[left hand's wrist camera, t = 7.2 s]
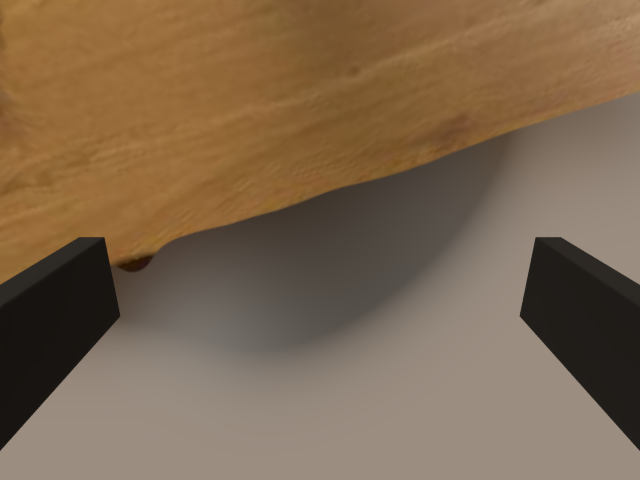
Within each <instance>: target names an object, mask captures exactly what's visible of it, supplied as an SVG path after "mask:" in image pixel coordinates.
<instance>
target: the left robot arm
mask: <svg viewBox="0 0 640 480" xmlns="http://www.w3.org/2000/svg"><path fill="white" fill-rule="evenodd" d="M119 317H120V312H119V307H118V302H117V297H116V292H115V287H114V282H113V278H112V273H111V268H110V263H109V258H108V253H107V248H106V243H105V238H104V237H79V238H77V239H76V240H74V241H72V242H71V243H69V244H67V245H66V246H64V247H62V248H61V249H59V250H57V251H56V252H54V253H52V254H51V255H49V256H47V257H46V258H44V259H42V260H41V261H39V262H37V263H36V264H34V265H32V266H31V267H29V268H27V269H26V270H24V271H22V272H21V273H19V274H17V275H16V276H14V277H12V278H11V279H9V280H8V281H6V282H4V283H3V284H1V285H0V450H1V449H2V448H3V447H4V446H5V445H6V444H7V443H8V441H9V440H10V439H11V438H12V437H13V436H14V435H15V434H16V433H17V431H18V430H19V429H20V428H21V427H22V426H23V425H24V424H25V422H26V421H27V420H28V419H29V418H30V417H31V416H32V415H33V413H34V412H35V411H36V410H37V409H38V408H39V407H40V406H41V404H42V403H43V402H44V401H45V400H46V399H47V398H48V397H49V396H50V394H51V393H52V392H53V391H54V390H55V389H56V388H57V387H58V385H59V384H60V383H61V382H62V381H63V380H64V379H65V378H66V376H67V375H68V374H69V373H70V372H71V371H72V370H73V369H74V367H75V366H76V365H77V364H78V363H79V362H80V361H81V360H82V359H83V357H84V356H85V355H86V354H87V353H88V352H89V351H90V349H91V348H92V347H93V346H94V345H95V344H96V343H97V342H98V340H99V339H100V338H101V337H102V336H103V335H104V334H105V333H106V332H107V331H108V329H109V328H110V327H111V326H112V325H113V324H114V323H115V322H116V320H117V319H118V318H119ZM520 317H521V318H522V319H523V320H524V321H525V323H526V324H527V325H528V326H529V327H530V328H531V329H532V330H533V332H534V333H535V334H536V335H537V336H538V337H539V338H540V339H541V341H542V342H543V343H544V344H545V345H546V346H547V347H548V348H549V349H550V351H551V352H552V353H553V354H554V355H555V356H556V357H557V359H558V360H559V361H560V362H561V363H562V364H563V365H564V366H565V368H566V369H567V370H568V371H569V372H570V373H571V374H572V375H573V376H574V378H575V379H576V380H577V381H578V382H579V383H580V384H581V385H582V387H583V388H584V389H585V390H586V391H587V392H588V393H589V394H590V396H591V397H592V398H593V399H594V400H595V401H596V402H597V403H598V405H599V406H600V407H601V408H602V409H603V410H604V411H605V412H606V413H607V415H608V416H609V417H610V418H611V419H612V420H613V421H614V422H615V424H616V425H617V426H618V427H619V428H620V429H621V430H622V431H623V433H624V434H625V435H626V436H627V437H628V438H629V439H630V440H631V442H632V443H633V444H634V445H635V446H636V447H637V448H638V449H639V450H640V285H639V284H637V283H636V282H634V281H632V280H631V279H629V278H628V277H626V276H624V275H622V274H621V273H619V272H618V271H616V270H614V269H613V268H611V267H609V266H608V265H606V264H604V263H603V262H601V261H599V260H598V259H596V258H594V257H593V256H591V255H589V254H588V253H586V252H584V251H583V250H581V249H579V248H578V247H576V246H574V245H573V244H571V243H569V242H568V241H566V240H564V239H563V238H561V237H536V238H535V243H534V248H533V253H532V258H531V263H530V268H529V273H528V278H527V282H526V288H525V292H524V297H523V302H522V307H521V312H520Z"/></svg>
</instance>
